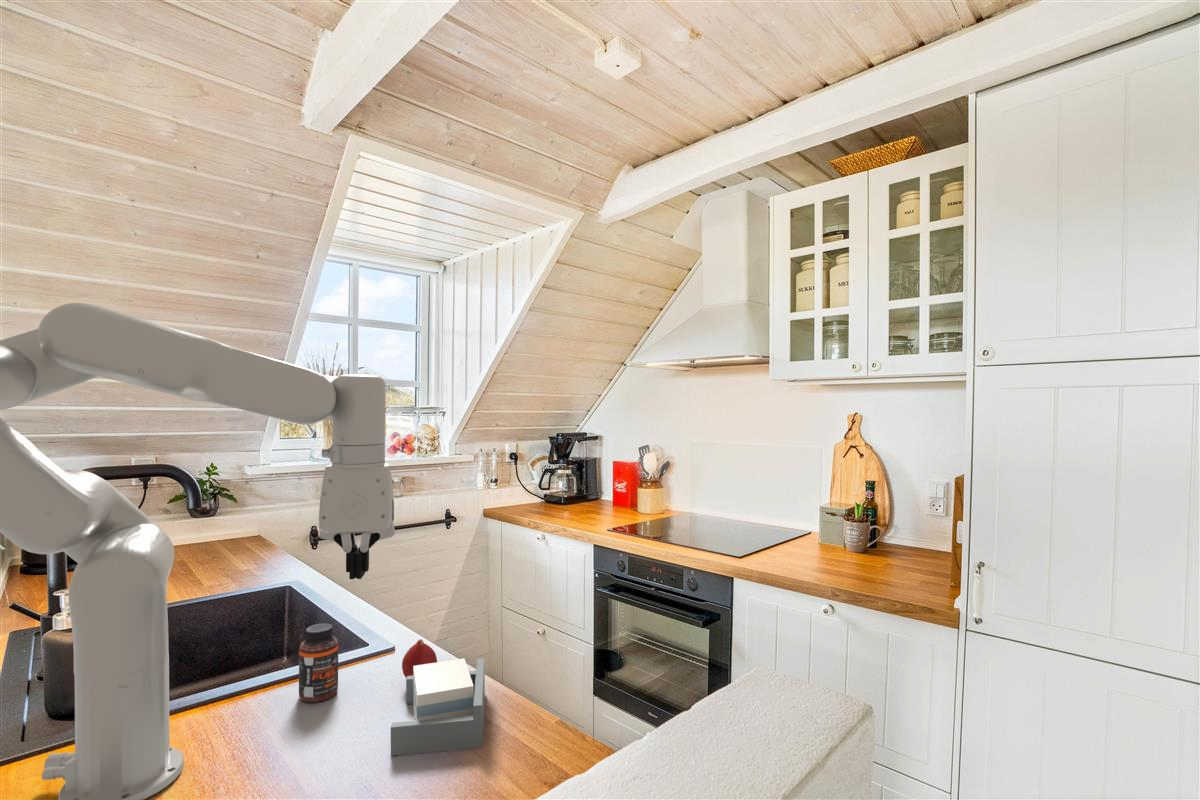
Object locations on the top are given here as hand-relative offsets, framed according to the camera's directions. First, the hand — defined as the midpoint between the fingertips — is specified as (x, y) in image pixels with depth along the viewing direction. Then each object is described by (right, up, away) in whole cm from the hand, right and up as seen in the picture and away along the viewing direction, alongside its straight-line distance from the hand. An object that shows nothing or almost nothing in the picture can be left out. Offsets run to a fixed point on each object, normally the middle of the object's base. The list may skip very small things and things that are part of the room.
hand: (357, 576), depth 91 cm
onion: (+6, -23, +12) cm, 26 cm away
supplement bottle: (-10, -23, +9) cm, 26 cm away
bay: (+13, -22, 0) cm, 26 cm away
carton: (+13, -23, +1) cm, 26 cm away
